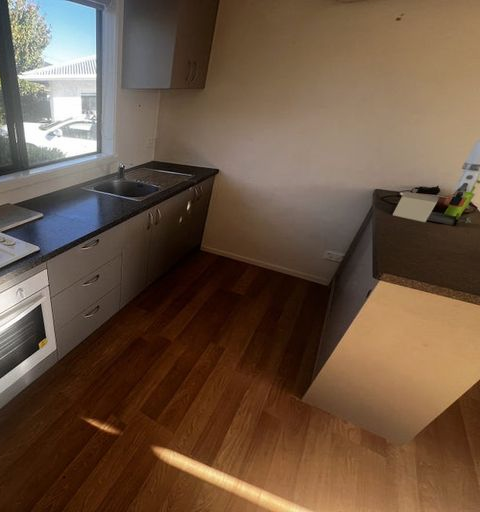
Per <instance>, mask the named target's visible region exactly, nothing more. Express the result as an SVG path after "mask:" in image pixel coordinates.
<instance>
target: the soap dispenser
mask: <svg viewBox="0 0 480 512" xmlns="http://www.w3.org/2000/svg"><path fill="white" fill-rule="evenodd" d="M476 184H480V180H478V179H477V181H476V183H475V184H474V186H473V188H472V190H471V191H470V193H468V192H465V194H464V196H465V197H467V200H466V201H465V203H464V205H463V206H462V207H452V206H448V207H447V208H446V210H445V212H444V213H443V214H446V215H452V216H456V214H457V213H459V217H461V216H462V214H463V213H464V211H465V210H466V208H467V207H468V206H469V204H470V202H471V201H472V200H473V198H474V197H475V193H473V192H474V191H475V190H476V187H477V186H475V185H476Z"/></svg>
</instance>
